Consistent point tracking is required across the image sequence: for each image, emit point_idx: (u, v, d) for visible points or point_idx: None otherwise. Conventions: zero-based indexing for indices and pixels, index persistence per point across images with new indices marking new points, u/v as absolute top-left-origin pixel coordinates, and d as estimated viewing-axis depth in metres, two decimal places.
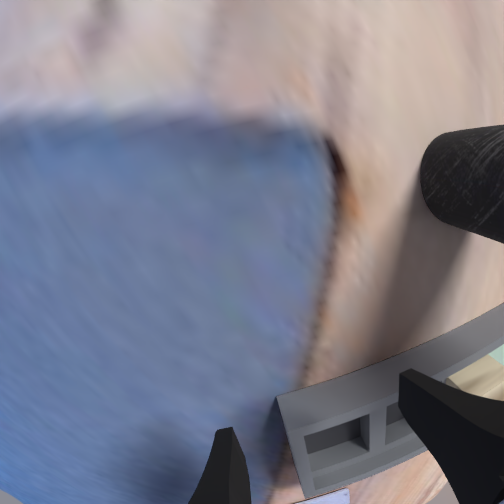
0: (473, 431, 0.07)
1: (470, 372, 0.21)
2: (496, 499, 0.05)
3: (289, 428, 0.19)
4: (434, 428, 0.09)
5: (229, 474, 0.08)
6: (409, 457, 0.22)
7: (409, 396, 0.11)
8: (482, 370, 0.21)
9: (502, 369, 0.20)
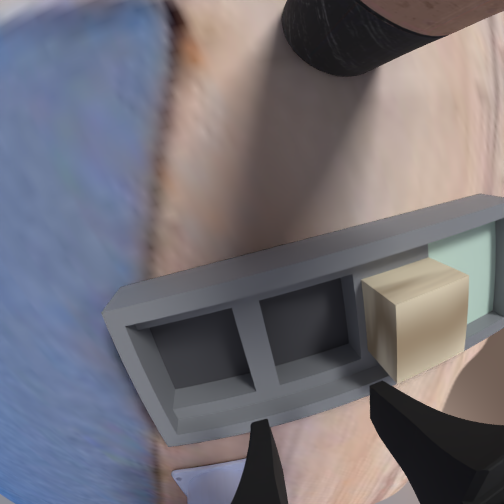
0: (437, 452, 0.07)
1: (397, 275, 0.17)
2: None
3: (105, 310, 0.15)
4: (402, 444, 0.09)
5: (273, 465, 0.08)
6: (320, 409, 0.18)
7: (379, 409, 0.11)
8: (418, 272, 0.17)
9: (450, 271, 0.16)
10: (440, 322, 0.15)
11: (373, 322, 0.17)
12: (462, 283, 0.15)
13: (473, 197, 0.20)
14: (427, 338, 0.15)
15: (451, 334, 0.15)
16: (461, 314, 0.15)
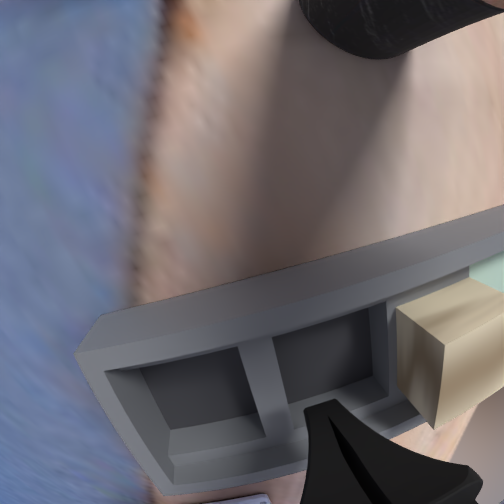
0: (372, 483, 0.07)
1: (439, 301, 0.13)
2: None
3: (78, 350, 0.11)
4: (349, 466, 0.09)
5: (338, 445, 0.09)
6: None
7: None
8: (462, 298, 0.13)
9: (499, 296, 0.12)
10: (487, 358, 0.11)
11: (408, 358, 0.14)
12: None
13: None
14: (472, 377, 0.11)
15: (496, 369, 0.11)
16: None
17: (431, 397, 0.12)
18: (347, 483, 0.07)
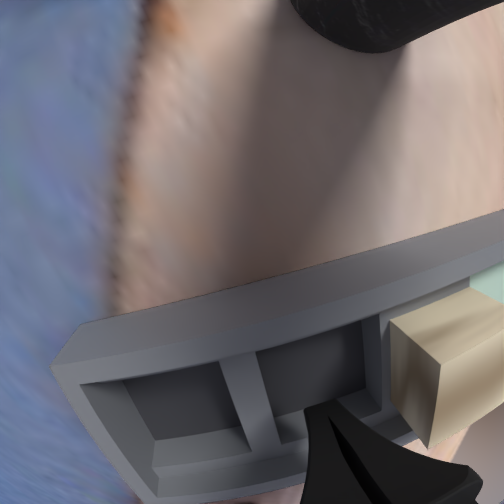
0: (372, 483, 0.07)
1: (436, 314, 0.12)
2: None
3: (54, 363, 0.10)
4: (349, 466, 0.09)
5: (338, 445, 0.09)
6: None
7: None
8: (461, 311, 0.12)
9: (501, 309, 0.11)
10: (486, 375, 0.10)
11: (402, 374, 0.13)
12: None
13: None
14: (469, 396, 0.10)
15: (495, 386, 0.10)
16: None
17: (425, 416, 0.11)
18: (347, 483, 0.07)
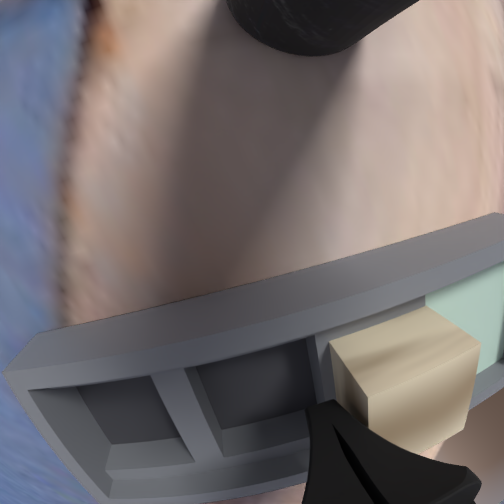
0: (370, 484, 0.07)
1: (380, 337, 0.12)
2: None
3: (6, 369, 0.10)
4: None
5: (339, 445, 0.09)
6: (272, 487, 0.13)
7: None
8: (409, 334, 0.12)
9: (455, 333, 0.11)
10: (433, 406, 0.10)
11: (343, 398, 0.12)
12: (470, 354, 0.10)
13: (487, 218, 0.15)
14: (413, 427, 0.10)
15: (448, 416, 0.10)
16: (464, 391, 0.10)
17: None
18: (349, 482, 0.07)
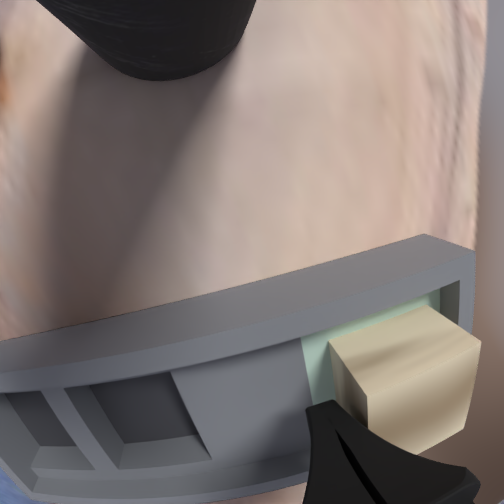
0: (369, 485, 0.07)
1: (380, 335, 0.12)
2: None
3: None
4: None
5: (340, 445, 0.09)
6: None
7: None
8: (409, 333, 0.12)
9: (455, 332, 0.11)
10: (433, 405, 0.10)
11: (343, 397, 0.12)
12: (470, 353, 0.09)
13: (408, 242, 0.15)
14: (413, 426, 0.10)
15: (448, 415, 0.10)
16: (464, 390, 0.10)
17: None
18: (349, 482, 0.07)
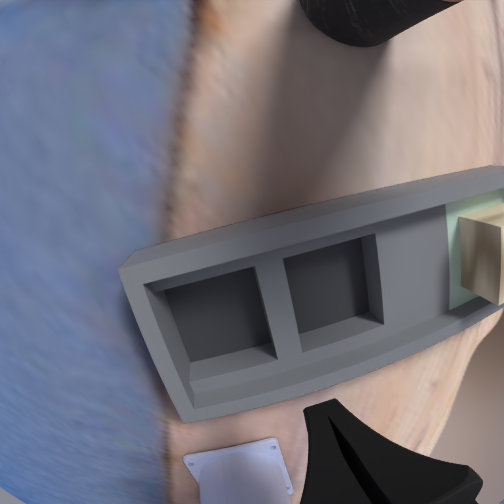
0: (372, 483, 0.07)
1: (486, 212, 0.17)
2: None
3: (122, 267, 0.15)
4: (349, 466, 0.09)
5: (337, 445, 0.09)
6: (344, 377, 0.18)
7: None
8: (501, 210, 0.17)
9: None
10: None
11: (472, 254, 0.17)
12: None
13: (484, 167, 0.19)
14: None
15: None
16: None
17: (494, 276, 0.15)
18: (347, 483, 0.07)
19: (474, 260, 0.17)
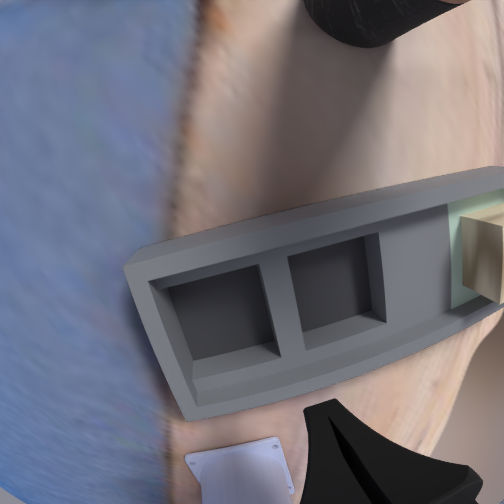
0: (372, 483, 0.07)
1: (488, 212, 0.17)
2: None
3: (127, 264, 0.15)
4: (349, 466, 0.09)
5: (338, 445, 0.09)
6: (347, 375, 0.18)
7: None
8: (502, 210, 0.17)
9: None
10: None
11: (473, 253, 0.17)
12: None
13: (486, 168, 0.20)
14: None
15: None
16: None
17: (495, 275, 0.16)
18: (347, 483, 0.07)
19: (476, 259, 0.17)
